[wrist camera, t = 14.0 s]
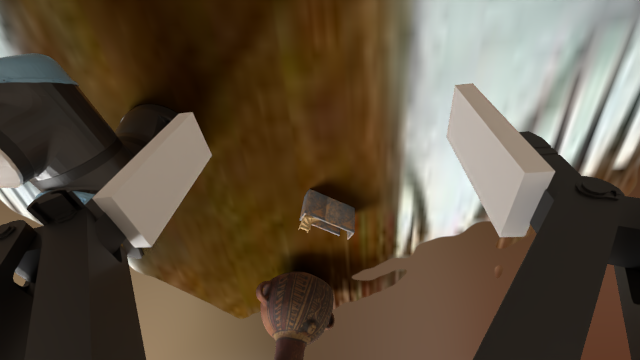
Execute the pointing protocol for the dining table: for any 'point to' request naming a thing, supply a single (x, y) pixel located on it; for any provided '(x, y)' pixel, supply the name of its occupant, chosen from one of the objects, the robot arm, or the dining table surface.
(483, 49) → the dining table surface
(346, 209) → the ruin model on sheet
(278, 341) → the vase
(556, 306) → the robot arm
